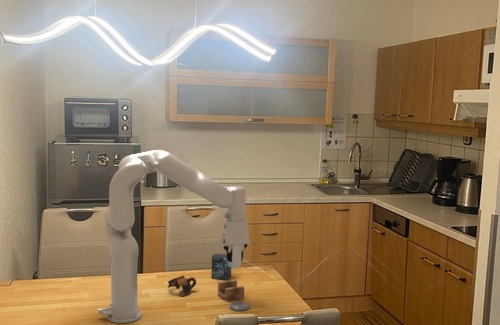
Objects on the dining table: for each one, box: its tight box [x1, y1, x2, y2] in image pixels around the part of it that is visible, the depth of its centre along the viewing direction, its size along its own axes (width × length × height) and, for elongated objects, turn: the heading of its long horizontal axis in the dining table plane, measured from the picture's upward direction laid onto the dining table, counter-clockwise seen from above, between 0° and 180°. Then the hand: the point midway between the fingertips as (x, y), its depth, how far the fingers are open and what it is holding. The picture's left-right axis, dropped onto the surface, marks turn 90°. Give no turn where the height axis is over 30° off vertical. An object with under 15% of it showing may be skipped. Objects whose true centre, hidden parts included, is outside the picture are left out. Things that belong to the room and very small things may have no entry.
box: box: [211, 252, 232, 281], centre depth 240 cm, size 8×6×11 cm
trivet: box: [229, 300, 251, 312], centre depth 208 cm, size 8×8×1 cm
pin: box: [228, 245, 242, 270], centre depth 212 cm, size 4×5×11 cm
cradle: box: [217, 279, 245, 302], centre depth 219 cm, size 9×9×5 cm
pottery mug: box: [167, 274, 197, 297], centre depth 222 cm, size 12×10×8 cm
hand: (234, 260), depth 213 cm, fingers closed on pin, 4 cm apart
